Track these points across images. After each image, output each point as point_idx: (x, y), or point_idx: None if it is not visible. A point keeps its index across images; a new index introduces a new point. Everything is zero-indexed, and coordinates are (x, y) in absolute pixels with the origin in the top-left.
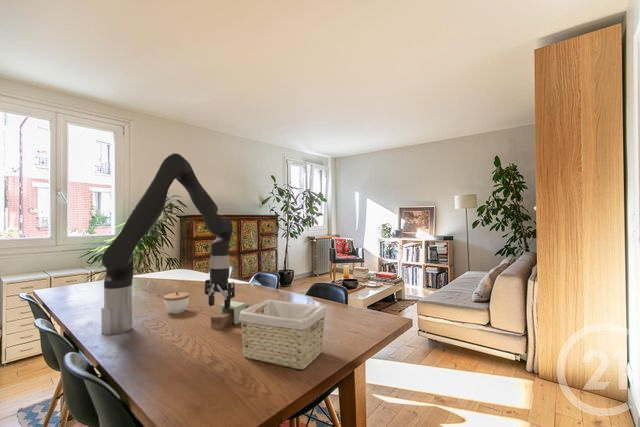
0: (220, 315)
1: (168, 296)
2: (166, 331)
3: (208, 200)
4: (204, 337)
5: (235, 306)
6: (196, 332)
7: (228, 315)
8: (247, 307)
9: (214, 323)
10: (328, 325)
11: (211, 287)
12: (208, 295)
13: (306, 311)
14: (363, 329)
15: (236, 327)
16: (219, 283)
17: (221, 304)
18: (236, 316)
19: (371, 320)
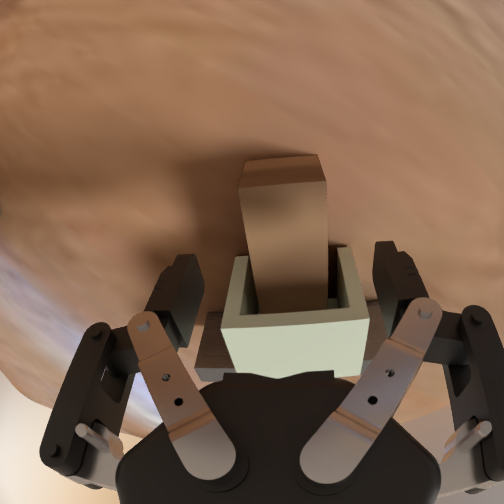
0: (294, 236)
1: None
2: (482, 11)
3: None
4: (207, 42)
5: (231, 333)
6: (328, 60)
7: (251, 264)
8: (230, 363)
9: (286, 168)
10: (41, 355)
11: (383, 411)
12: (423, 305)
13: None
14: (4, 353)
15: (198, 233)
16: (218, 493)
17: (361, 320)
18: (230, 287)
19: (37, 387)
